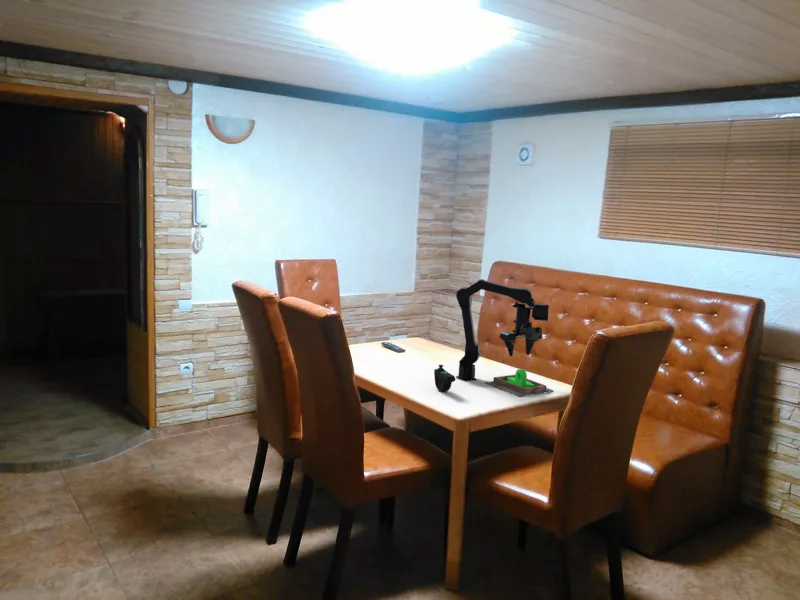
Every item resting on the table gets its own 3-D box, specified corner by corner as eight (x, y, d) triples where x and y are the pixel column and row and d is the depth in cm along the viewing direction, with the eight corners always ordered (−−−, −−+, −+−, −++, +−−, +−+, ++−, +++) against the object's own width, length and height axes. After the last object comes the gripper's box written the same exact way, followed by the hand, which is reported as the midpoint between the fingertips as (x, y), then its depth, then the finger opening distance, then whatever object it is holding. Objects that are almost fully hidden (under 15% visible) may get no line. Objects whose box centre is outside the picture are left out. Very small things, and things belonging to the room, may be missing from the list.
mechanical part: (534, 389, 253) (535, 370, 252) (521, 390, 251) (522, 371, 250) (519, 381, 264) (521, 363, 263) (507, 382, 262) (508, 363, 261)
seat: (518, 396, 244) (519, 390, 243) (485, 383, 260) (486, 377, 260) (553, 391, 254) (553, 385, 253) (519, 379, 270) (519, 373, 270)
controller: (440, 387, 251) (442, 363, 250) (455, 396, 240) (457, 371, 239) (431, 387, 249) (432, 363, 248) (445, 396, 238) (447, 371, 237)
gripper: (519, 323, 245) (515, 361, 247) (553, 321, 254) (549, 358, 257) (500, 318, 254) (497, 355, 256) (534, 316, 264) (530, 352, 266)
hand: (519, 355), depth 259 cm, fingers open, 9 cm apart
